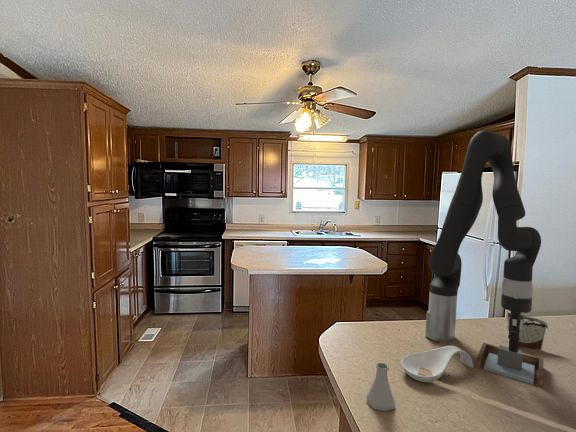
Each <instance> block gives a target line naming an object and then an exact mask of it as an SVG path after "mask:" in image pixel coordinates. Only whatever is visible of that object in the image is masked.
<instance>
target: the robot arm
mask: <svg viewBox="0 0 576 432" xmlns="http://www.w3.org/2000/svg"><path fill="white" fill-rule="evenodd" d="M487 162H488V164H489V166H490V168H491V171H492V173H493V185H492V192H491V193H492V195H491V196H492V201H493V205H494V208H495V211H496V214H497V240H498V243H499V245H500V246H501V247H502V248H503V249H504V250H506V251H509V252H515V255H513V256H512V257H509V258H506V259H505V260H504V262H503V277H502V283H501V296H500V298H501V299H500V306H501V308H503V309H504V310H506V311H509V312H507V317H506V320H507V326H506V327H507V331H508V336H507V338H508V347H509V351H511V352H515V353H517V352H518V350H519V346H518V342H519V340H520V338H519V334H520V333H521V332H522V324H523V318H524V316H525V315H524V314H527V313H528V314H529V313H530V312H531V311H532V310H533V309H532V308H533V307H532V306H533V293H534V292H533V291H534V290H533V288H534V286H533V268H534V264H535V263H536V260H537V257H538V255H539V253H540V249H541V246H542V236H541V235H540V232H539V231H538V230H537V229H536V228H534V227H531V226H517V221H519V220H522V219H523V218H524V217H525V216H526V210H525V205H524V204H523V200H522V198H521V194H520V192H519V189H518V185H517V180H516V175H515V169H514V161H513V154H512V147H511V143H510V140H509V139H508V138H507V136H505V135H503V134H500V133H497V132H494V131H490V130H480V131H477V132H476V133H475V134H474V135H473V136H472V137H471V138H470V140H469V143H468V146H467V150H466V153H465V157H464V162H463V166H462V170H461V173H460V176H459V179H458V182H457V185H456V188H455V191H454V193H453V196H452V199H451V201H450V204H449V206H448V209H447V213H446V215H445V219H444V221H443V225H442V228H441V231H440V233H439V237H438V238H437V241H436V243H435V245H434V248H433V249H432V251H431V253H430V255H429V258H428V268H429V270H430V272H431V273H432V274H433V276H432V277H433V278H432V280H431V282H430V284H429V295H428V296H429V297H428V299H429V300H428V310H427V311H426V321H425V322H426V323H425V338H428V339H430V340H431V341H433V342H437V343H440V342H441V341H442V342H451V341H454V340H455V336H456V320H457V304H458V291H459V288H460V285H461V276H462V267H463V265H462V264H463V263H462V259H461V258H462V257H461V255H460V254H459V251H460V247H461V244H462V243H463V240H464V239H465V238H466V236H467V235H468V233H469V232H470V230H471V229H472V227H473V226H474V224H475V222H476V220H477V218H478V216H479V213H480V210H481V208H482V205H483V202H484V197H483V196H484V192H483V185H482V180H483V179H482V178H483V173H484V170H485V168H486V164H487ZM522 313H524V314H522Z"/></svg>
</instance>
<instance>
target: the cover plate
mask: <svg viewBox="0 0 576 432" xmlns="http://www.w3.org/2000/svg"><path fill="white" fill-rule="evenodd" d="M498 346H499V348H498V355H497V354H493V353H490V352H489V353H488V356H487V359H486V362H485V365H484V369H483V370H484V371H487V372H490V371H491V372H490V373H493V372H494V373H493V374H497V375H500V376H503V375H504V376H503V377H506V376H507V378H509V379H513V380H516V379H517V380H516V381H519V380H520V381H519V382H522V381H523V383H526V384H530V385H532V384H533V382H534V367H535V365H533V364H529V363H526V362H522V359H523V353H524V350H521V349H518V352H517V353H515V352H511V351H509V346H506V345H502V344H499V345H498Z"/></svg>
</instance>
